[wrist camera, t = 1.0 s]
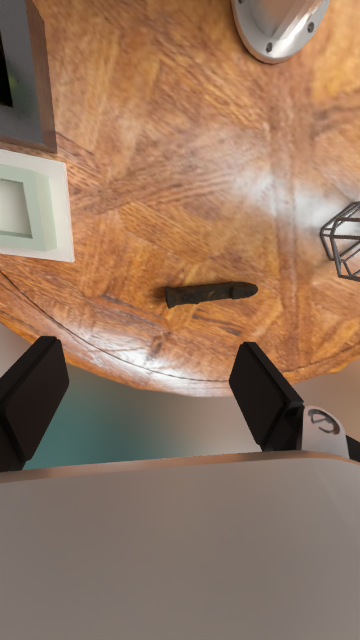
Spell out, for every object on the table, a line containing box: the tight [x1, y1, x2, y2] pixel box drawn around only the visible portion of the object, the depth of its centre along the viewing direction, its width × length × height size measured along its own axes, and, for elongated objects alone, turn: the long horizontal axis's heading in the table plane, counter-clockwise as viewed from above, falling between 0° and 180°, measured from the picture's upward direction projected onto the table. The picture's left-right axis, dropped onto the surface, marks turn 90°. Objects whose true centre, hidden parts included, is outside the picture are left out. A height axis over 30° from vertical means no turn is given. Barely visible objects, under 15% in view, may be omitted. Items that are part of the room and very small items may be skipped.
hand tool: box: [165, 282, 258, 309], centre depth 38 cm, size 19×4×5 cm, turn 92°
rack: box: [0, 149, 75, 262], centre depth 27 cm, size 14×14×5 cm
